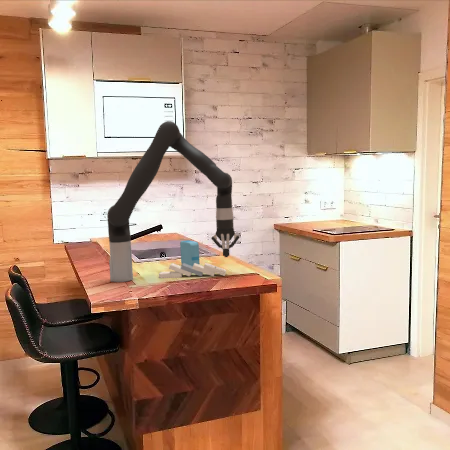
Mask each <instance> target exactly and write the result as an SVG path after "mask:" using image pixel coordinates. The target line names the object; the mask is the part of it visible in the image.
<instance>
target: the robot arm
mask: <svg viewBox="0 0 450 450" xmlns="http://www.w3.org/2000/svg"><path fill="white" fill-rule="evenodd" d="M170 148H171V149H173V150H175V151H176V152H178V153H179V154H180V155H182V157H184V158H185V159H186V160H187V161H188V162H189V163H190V164H191V165H192V166H194V167H195V168H196V169H197V171H199V172H200V173H201V174H203V175H204V176H205V177H206V178H207V179H208V181H210V183H212V185H214V186H215V187H216V192H217V193H216V198H215V205H216V206H215V223H216V232H215V234H214V235H213V236H211V240H212V242H213V243H214V244H215V245H216V246H217V248H218V249H221V250H222V256H223V257H224V258H228V257H229V256H230V249H231V248H233V247H234V246H235V245H236V243H237V242H238V240H239V239H240V235H238V234H236V231H235V229H234V211H233V198H232V197H233V196H232V192H233V179H232V178H233V177H232V176H231V174H229V173H228V172H224V171H223V170H222V169H220V168H219V166H217V163H215V162H214V161H213V160H212V159H211V157H209V156H207V154H205V153H204V152H203V151H201V150H200V149H198V148H196V147H195V146H194V145H193V144H191V143H190V142H189V141H188V140H187V139H186V137H184V136H183V134H182V133H181V131H180V128H179V127H178V125H177V123H175V122H174V121H170V120H168V121H164V122H163V123H161V124H160V125H159V127H158V129H157V131H156V133H155V135H154V137H153V139H152V141H151V143H150V145H149V147H148V148H147V150H146V151H145V153H143V155H142V157H141V158H140V160H139V162H138V163H137V164H136V165H135V167H134V169H133V170H132V172H131V174H130V176H129V178H128V180H127V182H126V185H125V188H124V190H123V191H122V194H121V195H120V196H119V198H118V199H117V200H116V202H115V203H114V204H113V205H112V206H111V207H110V208H109V209H108V210H107V229H108V242H109V256H110V257H109V260H108V264H109V280H110V282H114V283H123V282H124V283H125V282H130V281H132V280H133V279H134V272H133V255H132V239H131V230H130V219H131V216H132V215H133V211H134V209H135V208H136V205H137V204H138V203H139V201H140V199H141V198H142V197H143V196H144V194H145V192H146V191H147V190H148V188H149V187H150V186H151V184H152V182H153V180H154V179H155V178H156V176H157V174H158V171H159V169H160V166H161V163H162V161H163V159H164V156H165V155H166V153H167V152H168V149H170ZM232 238H233V241H232V242H231V244H230V241H231V240H232ZM218 239H219V240H220V241H221V243H220V242H219V241H218Z"/></svg>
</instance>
